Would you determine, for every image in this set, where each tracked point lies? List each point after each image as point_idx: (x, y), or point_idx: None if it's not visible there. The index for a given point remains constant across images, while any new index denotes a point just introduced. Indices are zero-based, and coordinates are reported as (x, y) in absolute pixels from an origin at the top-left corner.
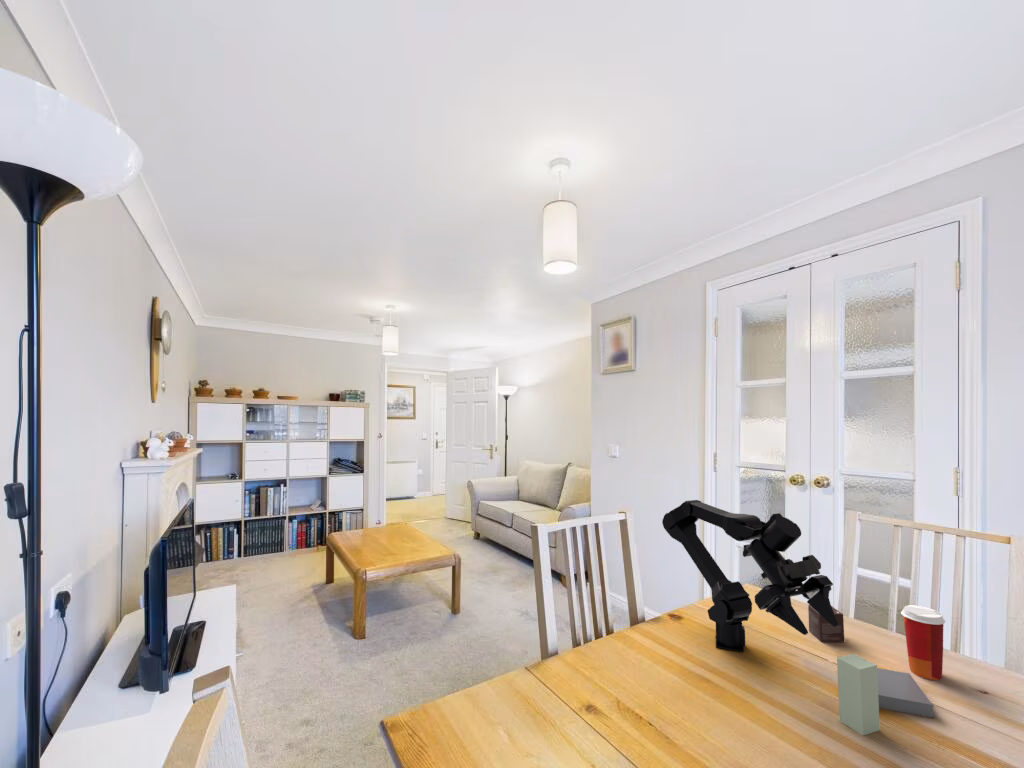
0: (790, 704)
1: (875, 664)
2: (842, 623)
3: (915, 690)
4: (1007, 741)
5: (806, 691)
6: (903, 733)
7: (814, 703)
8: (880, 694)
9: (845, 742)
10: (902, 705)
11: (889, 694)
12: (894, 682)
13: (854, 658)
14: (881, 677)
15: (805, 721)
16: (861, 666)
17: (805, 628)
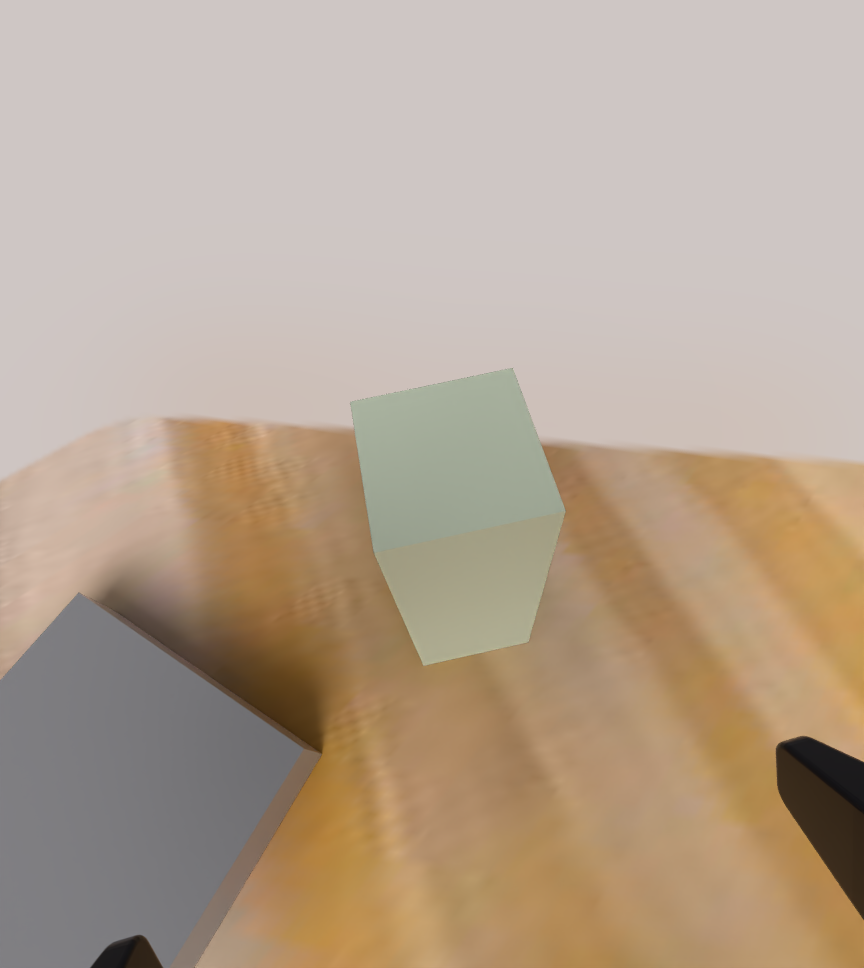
0: (707, 809)
1: (351, 409)
2: None
3: (6, 712)
4: (35, 476)
5: (530, 937)
6: (330, 542)
7: (560, 797)
8: (220, 703)
9: (598, 520)
10: (175, 656)
11: (174, 697)
12: (15, 809)
13: (430, 486)
14: (20, 881)
15: (696, 657)
16: (472, 393)
17: (840, 767)
